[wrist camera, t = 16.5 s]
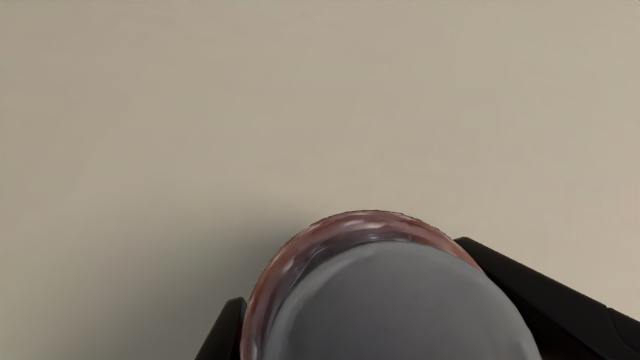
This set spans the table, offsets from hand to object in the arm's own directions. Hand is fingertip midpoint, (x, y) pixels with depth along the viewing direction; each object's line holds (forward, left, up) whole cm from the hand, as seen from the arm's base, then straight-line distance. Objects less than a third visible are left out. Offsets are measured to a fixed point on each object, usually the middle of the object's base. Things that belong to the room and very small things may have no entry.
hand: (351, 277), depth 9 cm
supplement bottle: (-1, +1, -7) cm, 7 cm away
